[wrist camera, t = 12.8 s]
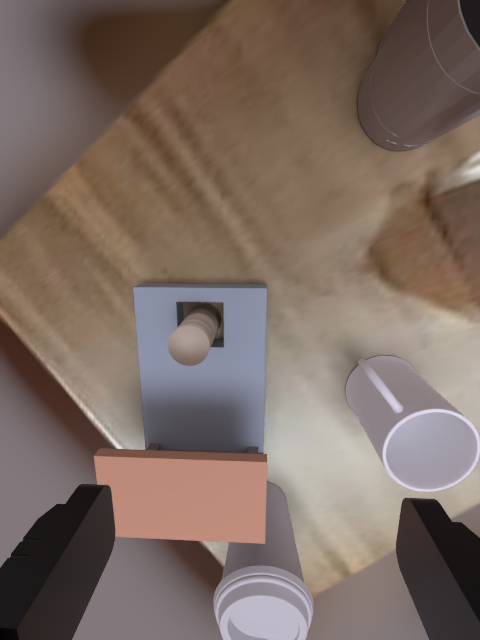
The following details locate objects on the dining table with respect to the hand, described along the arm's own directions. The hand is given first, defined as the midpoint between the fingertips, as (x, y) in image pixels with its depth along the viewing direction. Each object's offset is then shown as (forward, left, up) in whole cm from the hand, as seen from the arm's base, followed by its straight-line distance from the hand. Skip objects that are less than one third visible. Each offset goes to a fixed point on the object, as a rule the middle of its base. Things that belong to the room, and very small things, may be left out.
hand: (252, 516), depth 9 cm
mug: (+9, +14, -30) cm, 35 cm away
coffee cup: (+27, +1, -30) cm, 41 cm away
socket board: (+8, -6, -30) cm, 32 cm away
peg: (+2, -6, -30) cm, 31 cm away
